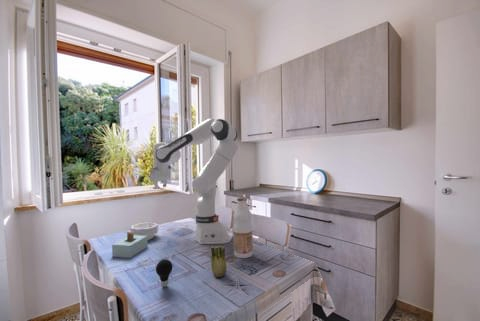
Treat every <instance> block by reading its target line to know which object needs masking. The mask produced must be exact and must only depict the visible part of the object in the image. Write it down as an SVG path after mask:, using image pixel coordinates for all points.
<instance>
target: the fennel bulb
mask: <svg viewBox="0 0 480 321" xmlns="http://www.w3.org/2000/svg"><path fill="white" fill-rule="evenodd" d="M210 253H211V258H210V260H211V262H210V263H211V264H210V265H211V271H212V273H213V275H214V277H215V278H223V277H224V276H225V275H227V274H226V273H227V261H226V256H225V255H226V246H222V245H218V246H211V247H210Z"/></svg>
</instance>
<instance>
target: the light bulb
mask: <svg viewBox="0 0 480 321" xmlns="http://www.w3.org/2000/svg"><path fill="white" fill-rule="evenodd" d="M172 271H173V264H172V262H171V261H170V260H169V259H165V258H164V259H161V260H159V262H158V263H157V264H156V267H155V272H156V274H157V275H158V276H159V279H160V286H161V287H164V288H166V287H167V286H169V279H170V278H169V277H170V274H171V272H172Z"/></svg>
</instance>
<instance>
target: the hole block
mask: <svg viewBox="0 0 480 321" xmlns="http://www.w3.org/2000/svg"><path fill="white" fill-rule="evenodd" d="M111 246H112V247H111V251H112V252H111V253H112V254H111V255H112V256H114V258H125V259H131V258H132V257H134V256H135V255H137V254H139V253H140V252H141V251H144V250H145V249H146V248H148V240H147V236H140V235H134V241H132V242H127V236H126V237H125V238H122V239H121V240H119V241H118V240H117V241H116V242H115V243H112V244H111Z"/></svg>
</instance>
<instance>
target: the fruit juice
mask: <svg viewBox="0 0 480 321" xmlns="http://www.w3.org/2000/svg"><path fill="white" fill-rule="evenodd" d="M236 201H237V204H236V208H235V210H234V212H233V218H232V219H233V226H232V228H233V229H232V230H233V231H232V233H233V234H232V239H233V255H234V257H236V258H237V259H247V258H250V257H252V256H253V253H254V249H253V245H254V244H253V239H254V238H253V224H252V217H253V216H252V212H251V211H250V208H249V205H248V197H246V196H245V197H244V196H240V197H237V199H236Z"/></svg>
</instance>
